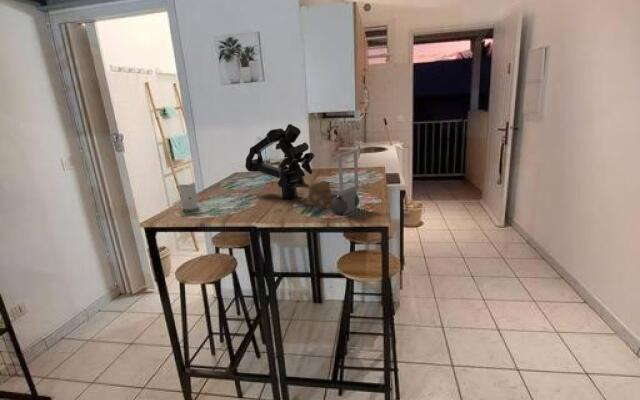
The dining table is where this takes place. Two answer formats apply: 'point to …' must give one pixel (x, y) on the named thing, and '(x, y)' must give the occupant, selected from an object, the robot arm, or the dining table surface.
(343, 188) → the trolley
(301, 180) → the door stopper
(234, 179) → the dining table surface
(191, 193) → the skincare box
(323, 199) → the brown stepped block
